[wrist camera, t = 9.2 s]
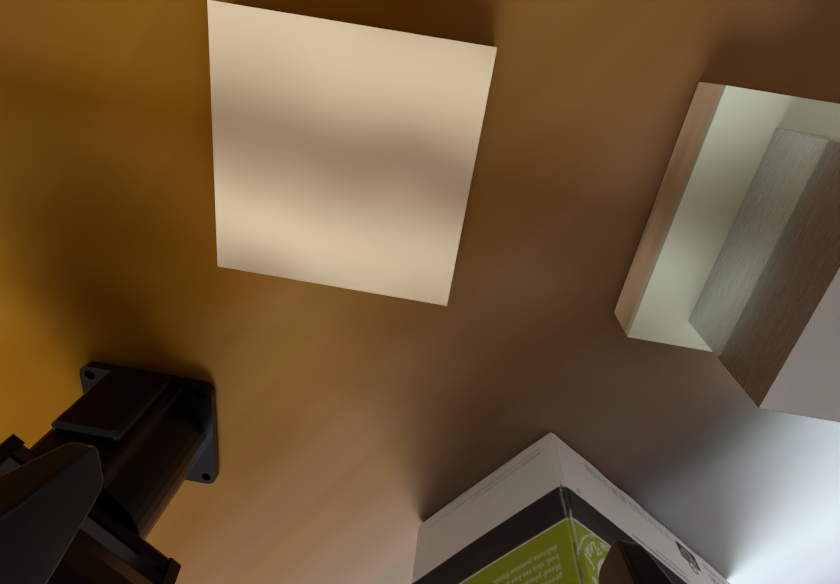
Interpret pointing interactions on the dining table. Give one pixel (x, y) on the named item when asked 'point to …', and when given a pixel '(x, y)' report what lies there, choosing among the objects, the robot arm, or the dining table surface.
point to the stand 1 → (342, 149)
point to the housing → (782, 281)
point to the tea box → (544, 527)
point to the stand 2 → (705, 202)
